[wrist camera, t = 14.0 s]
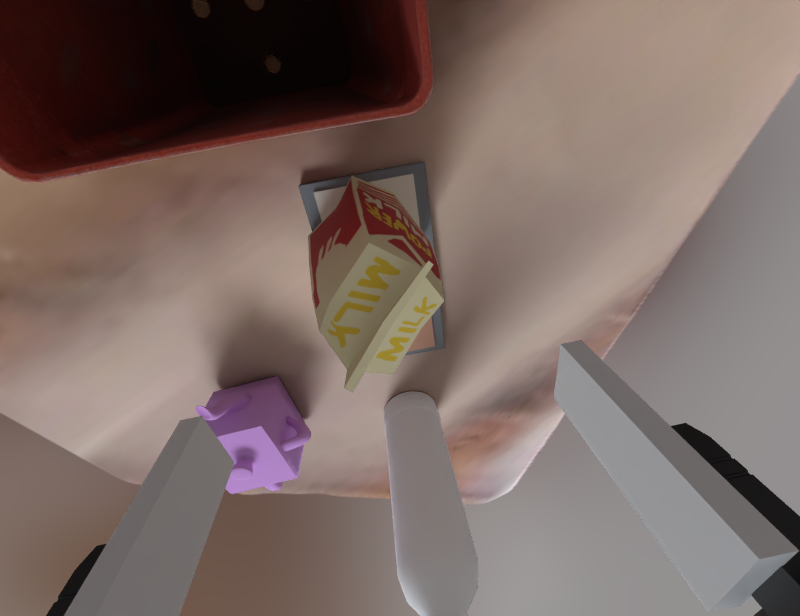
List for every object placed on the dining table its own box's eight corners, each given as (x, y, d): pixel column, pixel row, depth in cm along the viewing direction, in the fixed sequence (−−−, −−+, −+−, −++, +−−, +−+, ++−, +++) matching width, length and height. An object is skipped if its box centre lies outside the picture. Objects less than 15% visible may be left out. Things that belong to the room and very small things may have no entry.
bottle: (434, 426, 49) (516, 755, 24) (383, 430, 49) (410, 775, 23) (437, 387, 46) (540, 732, 20) (382, 391, 45) (414, 755, 19)
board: (300, 184, 30) (297, 186, 29) (423, 161, 31) (425, 162, 29) (353, 360, 41) (352, 367, 40) (443, 343, 42) (445, 349, 41)
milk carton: (377, 289, 35) (393, 444, 18) (305, 238, 32) (238, 372, 14) (433, 226, 32) (516, 338, 15) (361, 162, 29) (361, 214, 12)
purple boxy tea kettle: (179, 363, 39) (127, 432, 30) (288, 336, 39) (267, 397, 30) (248, 452, 48) (222, 525, 39) (336, 430, 48) (331, 498, 39)
